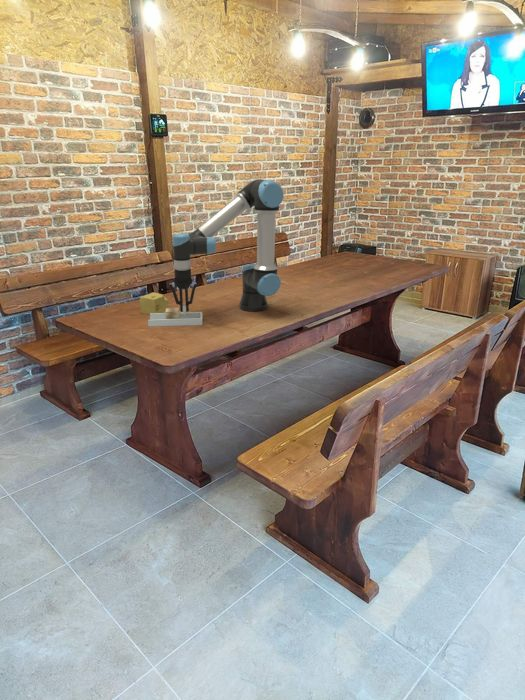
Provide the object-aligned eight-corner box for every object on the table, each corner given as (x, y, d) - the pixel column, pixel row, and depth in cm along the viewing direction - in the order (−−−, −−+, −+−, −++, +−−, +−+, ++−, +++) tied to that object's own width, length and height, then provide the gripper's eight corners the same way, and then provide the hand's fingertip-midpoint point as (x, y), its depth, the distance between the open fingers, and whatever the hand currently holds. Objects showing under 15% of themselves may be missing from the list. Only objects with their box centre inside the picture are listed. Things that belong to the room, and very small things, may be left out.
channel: (202, 320, 239) (202, 312, 237) (202, 327, 229) (202, 318, 227) (150, 322, 236) (149, 313, 234) (148, 329, 226) (147, 320, 224)
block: (179, 320, 235) (179, 308, 233) (179, 324, 229) (178, 311, 227) (167, 320, 234) (166, 308, 232) (166, 324, 229) (165, 312, 226)
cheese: (169, 313, 250) (168, 294, 246) (155, 319, 241) (154, 299, 237) (154, 310, 255) (153, 291, 251) (139, 315, 246) (138, 296, 242)
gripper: (196, 266, 227) (198, 315, 236) (168, 267, 226) (171, 316, 234) (196, 270, 220) (198, 320, 229) (167, 270, 219) (170, 321, 227)
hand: (184, 318), depth 232 cm, fingers closed
